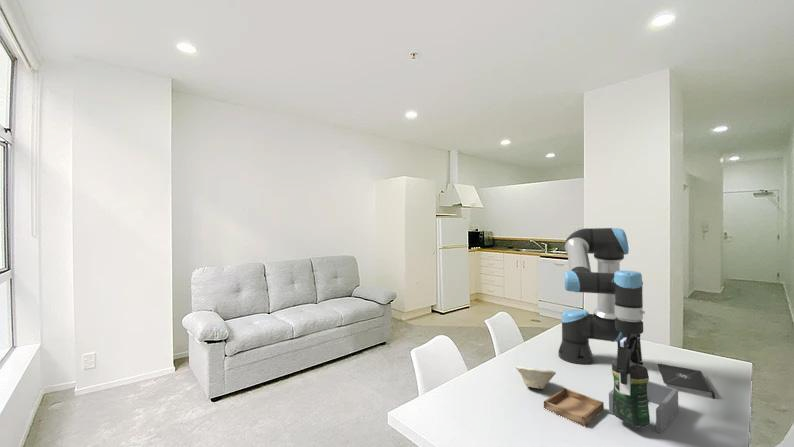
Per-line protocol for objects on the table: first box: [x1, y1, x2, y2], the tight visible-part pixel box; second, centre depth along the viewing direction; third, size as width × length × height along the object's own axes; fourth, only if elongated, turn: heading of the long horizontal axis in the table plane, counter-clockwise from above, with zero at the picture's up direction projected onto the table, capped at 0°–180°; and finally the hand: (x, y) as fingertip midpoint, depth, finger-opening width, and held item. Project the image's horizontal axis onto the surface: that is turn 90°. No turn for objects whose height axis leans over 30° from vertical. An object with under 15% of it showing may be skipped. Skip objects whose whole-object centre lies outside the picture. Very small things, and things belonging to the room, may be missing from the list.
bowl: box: [515, 365, 557, 390], centre depth 133 cm, size 15×14×10 cm
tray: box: [543, 387, 605, 427], centre depth 117 cm, size 14×16×3 cm
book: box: [657, 363, 716, 400], centre depth 136 cm, size 22×15×3 cm
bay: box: [608, 380, 679, 434], centre depth 115 cm, size 14×21×7 cm
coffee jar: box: [611, 358, 651, 428], centre depth 107 cm, size 10×8×19 cm
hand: (630, 388), depth 107 cm, fingers closed on coffee jar, 9 cm apart
